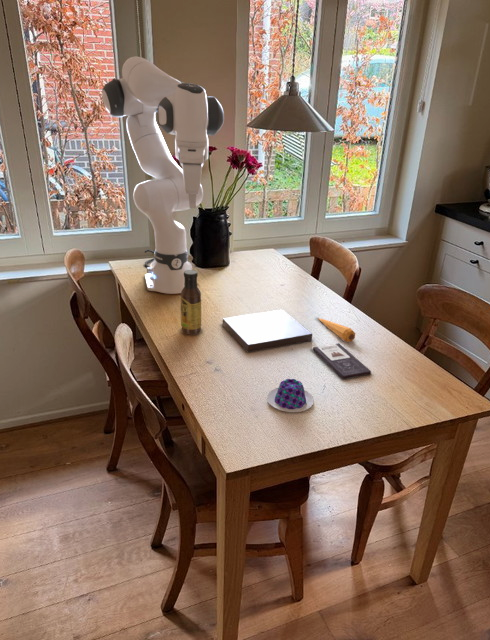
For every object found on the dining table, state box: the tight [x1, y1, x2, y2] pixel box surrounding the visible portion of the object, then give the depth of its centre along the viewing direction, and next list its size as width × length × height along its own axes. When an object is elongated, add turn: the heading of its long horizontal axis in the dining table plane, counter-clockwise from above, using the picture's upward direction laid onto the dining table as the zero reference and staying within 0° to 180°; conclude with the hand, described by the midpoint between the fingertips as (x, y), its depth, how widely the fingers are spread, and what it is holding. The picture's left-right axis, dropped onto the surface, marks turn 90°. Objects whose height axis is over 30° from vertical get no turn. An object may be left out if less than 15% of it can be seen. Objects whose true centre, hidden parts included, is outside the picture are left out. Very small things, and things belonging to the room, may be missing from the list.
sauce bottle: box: [180, 269, 202, 336], centre depth 163 cm, size 6×6×20 cm
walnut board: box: [222, 309, 313, 353], centre depth 170 cm, size 20×22×2 cm
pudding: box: [266, 378, 315, 413], centre depth 135 cm, size 12×12×5 cm
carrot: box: [317, 317, 356, 343], centre depth 174 cm, size 20×4×4 cm, turn 27°
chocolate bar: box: [312, 342, 372, 380], centre depth 156 cm, size 9×1×18 cm
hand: (192, 203), depth 152 cm, fingers open, 8 cm apart
